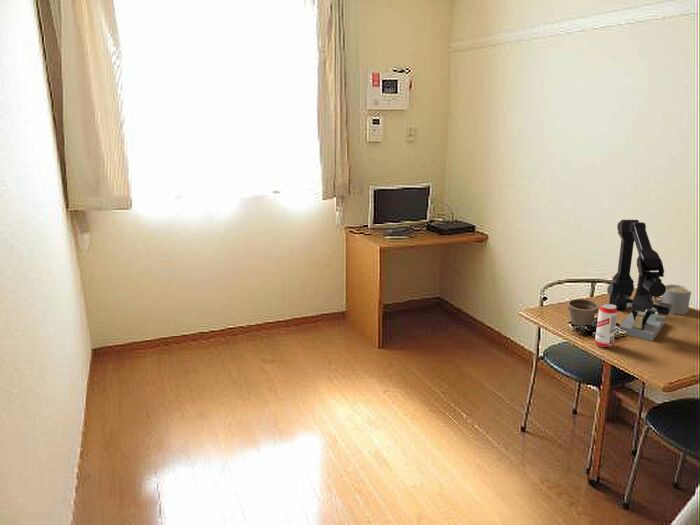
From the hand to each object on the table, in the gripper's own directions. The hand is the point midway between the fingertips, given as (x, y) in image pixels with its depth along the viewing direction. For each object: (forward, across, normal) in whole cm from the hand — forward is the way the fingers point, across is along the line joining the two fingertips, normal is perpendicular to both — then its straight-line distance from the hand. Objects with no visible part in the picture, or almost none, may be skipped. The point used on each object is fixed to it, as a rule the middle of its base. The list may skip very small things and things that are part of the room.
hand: (639, 324), depth 210 cm
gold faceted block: (0, 0, 0) cm, 0 cm away
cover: (0, 0, +11) cm, 11 cm away
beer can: (+4, -8, -19) cm, 21 cm away
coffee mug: (+4, +4, +32) cm, 33 cm away
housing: (+4, 0, +5) cm, 6 cm away
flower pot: (+4, -20, -8) cm, 21 cm away
